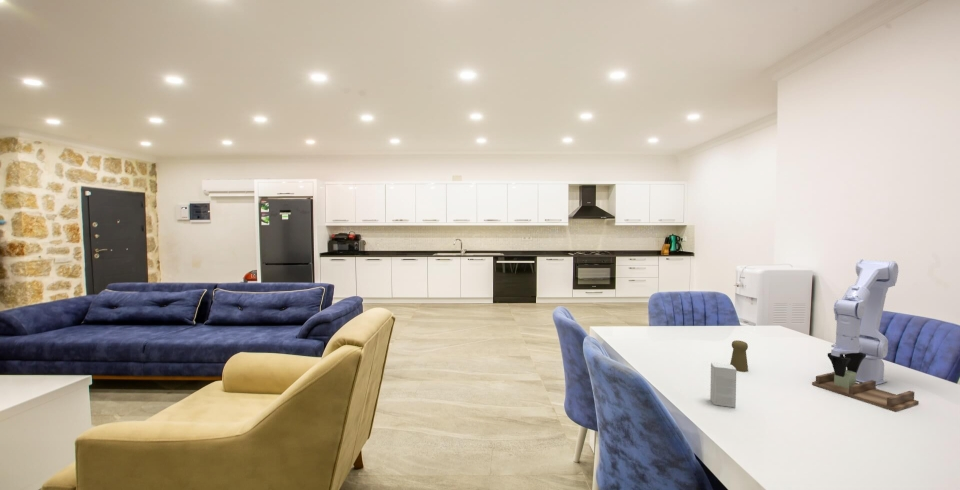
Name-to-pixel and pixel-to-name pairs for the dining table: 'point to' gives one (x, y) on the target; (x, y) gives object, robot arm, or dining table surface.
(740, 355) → the cork
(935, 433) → the dining table surface
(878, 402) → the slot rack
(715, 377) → the skincare box
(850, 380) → the sage block
